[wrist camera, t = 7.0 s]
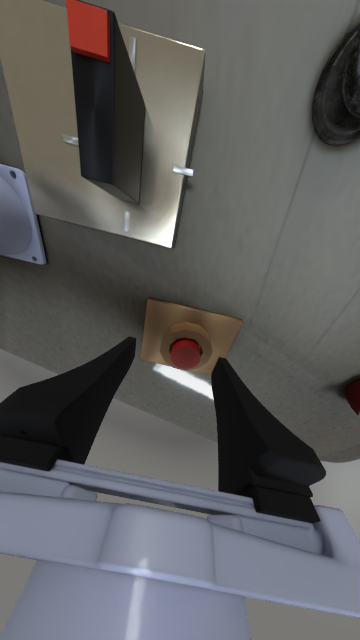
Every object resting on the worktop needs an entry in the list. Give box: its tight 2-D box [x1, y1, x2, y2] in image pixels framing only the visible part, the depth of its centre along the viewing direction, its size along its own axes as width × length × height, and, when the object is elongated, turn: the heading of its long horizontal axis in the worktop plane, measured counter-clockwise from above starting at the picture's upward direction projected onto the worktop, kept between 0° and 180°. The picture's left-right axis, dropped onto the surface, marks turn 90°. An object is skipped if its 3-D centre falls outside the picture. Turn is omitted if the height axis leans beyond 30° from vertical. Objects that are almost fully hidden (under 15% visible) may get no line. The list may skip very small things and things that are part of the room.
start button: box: [170, 338, 201, 369], centre depth 18 cm, size 4×4×2 cm
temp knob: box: [66, 0, 145, 204], centre depth 8 cm, size 5×2×4 cm, turn 167°
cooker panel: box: [0, 0, 205, 248], centre depth 11 cm, size 13×10×3 cm
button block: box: [140, 298, 243, 375], centre depth 19 cm, size 12×10×2 cm
